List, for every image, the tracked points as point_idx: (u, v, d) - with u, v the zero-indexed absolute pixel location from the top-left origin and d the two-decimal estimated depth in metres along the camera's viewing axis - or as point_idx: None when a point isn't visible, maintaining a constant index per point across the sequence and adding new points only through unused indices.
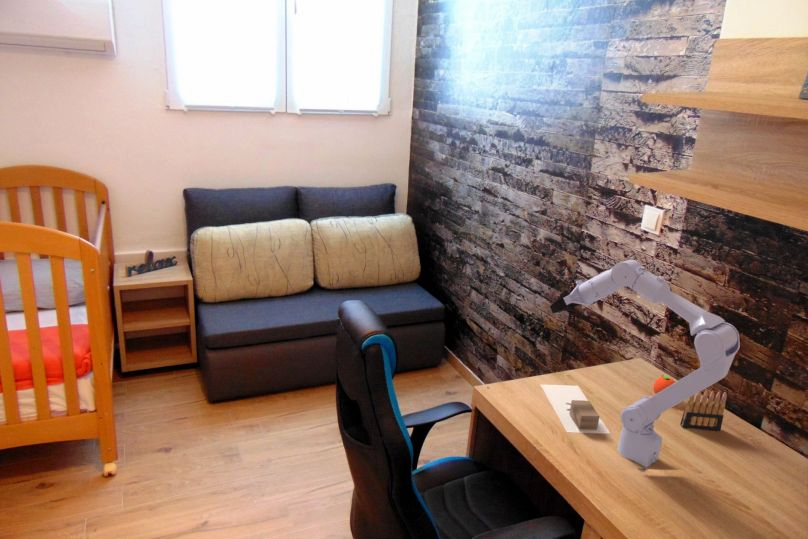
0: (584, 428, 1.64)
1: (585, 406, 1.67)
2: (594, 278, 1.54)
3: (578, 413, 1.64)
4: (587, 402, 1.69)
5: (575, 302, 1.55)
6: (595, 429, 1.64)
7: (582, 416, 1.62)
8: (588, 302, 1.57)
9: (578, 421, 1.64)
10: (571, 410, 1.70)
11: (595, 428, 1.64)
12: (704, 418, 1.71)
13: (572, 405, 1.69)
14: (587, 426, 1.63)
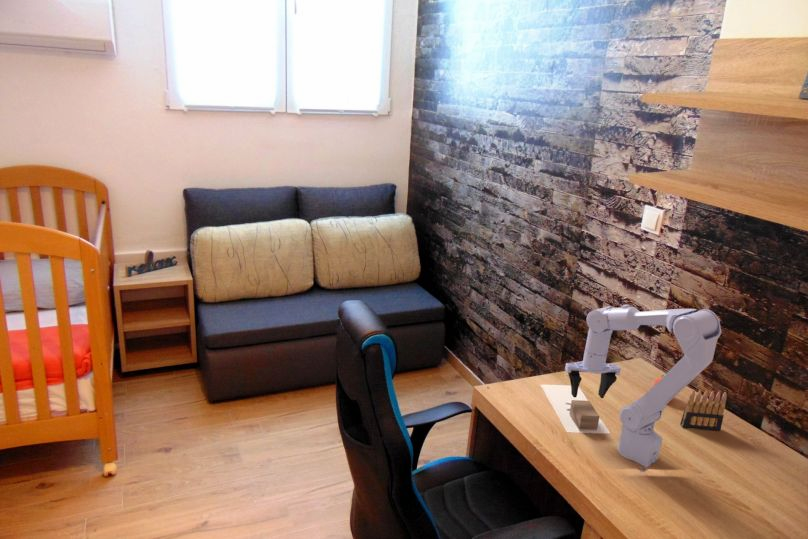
0: (584, 428, 1.64)
1: (585, 406, 1.67)
2: None
3: (578, 413, 1.64)
4: (587, 402, 1.69)
5: (575, 368, 1.61)
6: (595, 429, 1.64)
7: (582, 416, 1.62)
8: (591, 368, 1.60)
9: (578, 421, 1.64)
10: (571, 410, 1.70)
11: (595, 428, 1.64)
12: (704, 418, 1.71)
13: (572, 405, 1.69)
14: (587, 426, 1.63)
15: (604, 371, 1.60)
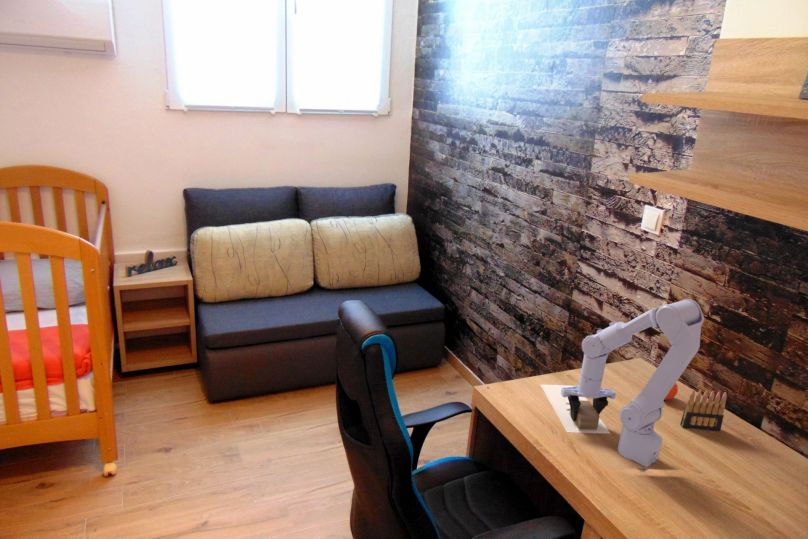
0: (584, 428, 1.64)
1: (585, 406, 1.67)
2: (581, 370, 1.64)
3: (578, 413, 1.64)
4: (587, 402, 1.69)
5: (570, 393, 1.63)
6: (595, 429, 1.64)
7: (582, 416, 1.62)
8: (587, 392, 1.62)
9: (578, 421, 1.64)
10: None
11: (595, 428, 1.64)
12: (704, 418, 1.71)
13: None
14: (587, 426, 1.63)
15: (599, 396, 1.63)
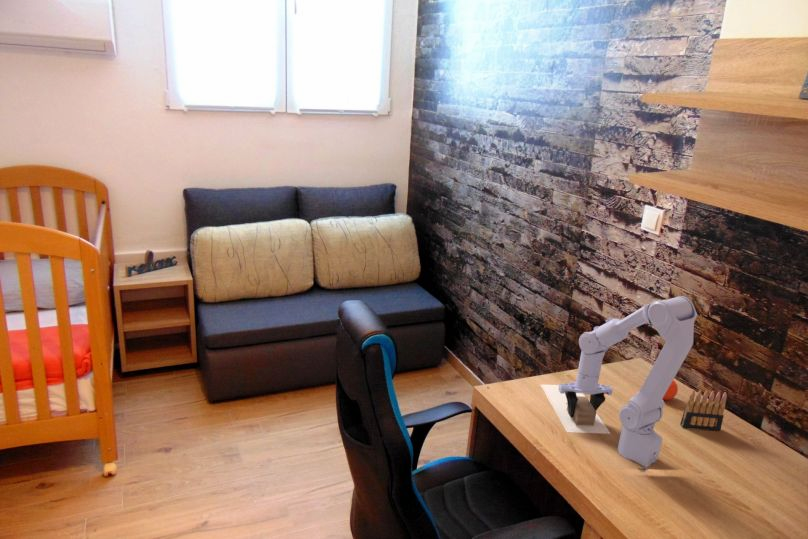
0: (581, 424, 1.66)
1: (582, 402, 1.69)
2: None
3: (575, 409, 1.66)
4: (584, 398, 1.71)
5: (568, 389, 1.65)
6: (592, 425, 1.66)
7: (579, 412, 1.64)
8: (584, 389, 1.64)
9: (575, 417, 1.66)
10: None
11: (592, 424, 1.66)
12: (704, 418, 1.71)
13: None
14: (584, 422, 1.65)
15: (596, 392, 1.64)
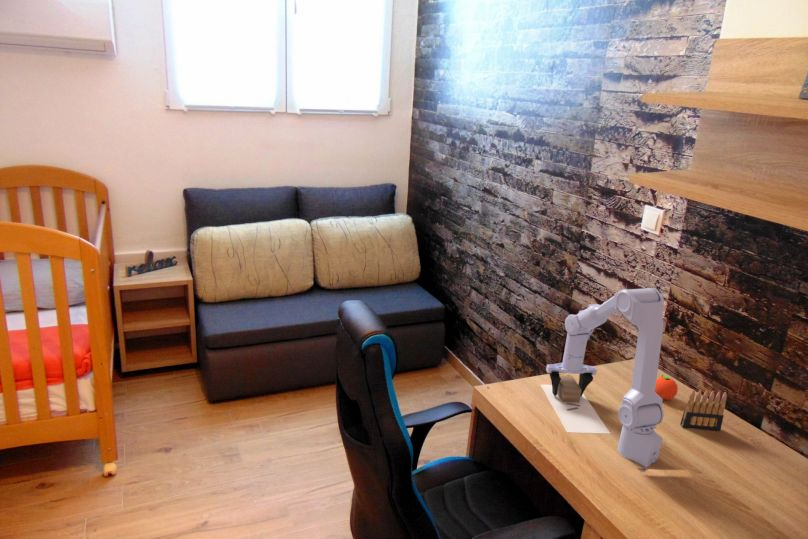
0: (567, 401, 1.77)
1: (569, 381, 1.80)
2: None
3: (562, 387, 1.78)
4: (570, 378, 1.83)
5: (555, 369, 1.76)
6: (578, 402, 1.77)
7: (566, 390, 1.76)
8: (569, 368, 1.75)
9: (562, 394, 1.77)
10: None
11: (577, 401, 1.77)
12: (704, 418, 1.71)
13: None
14: (570, 399, 1.77)
15: (581, 372, 1.76)
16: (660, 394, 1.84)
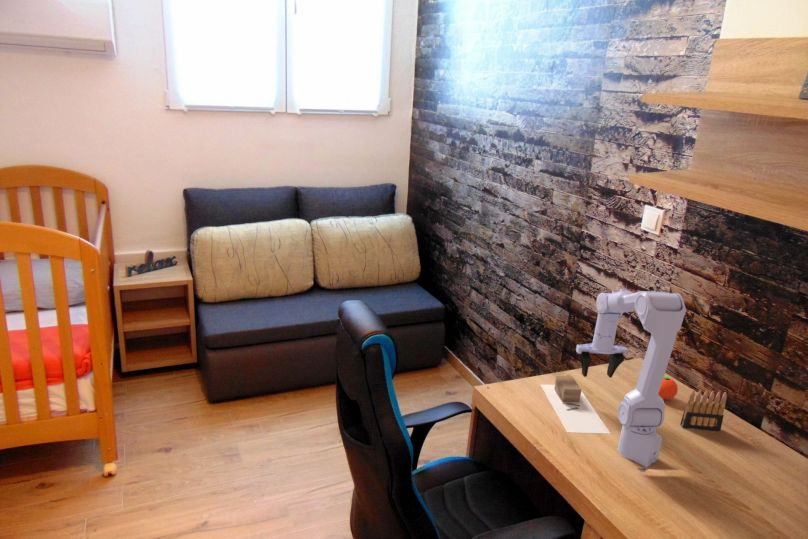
0: (567, 401, 1.77)
1: (569, 381, 1.80)
2: None
3: (562, 387, 1.78)
4: (570, 378, 1.83)
5: (585, 349, 1.73)
6: (578, 402, 1.77)
7: (566, 390, 1.76)
8: (600, 348, 1.72)
9: (562, 394, 1.77)
10: (556, 385, 1.83)
11: (577, 401, 1.77)
12: (704, 418, 1.71)
13: (557, 381, 1.82)
14: (570, 399, 1.77)
15: (612, 352, 1.73)
16: (660, 394, 1.84)
